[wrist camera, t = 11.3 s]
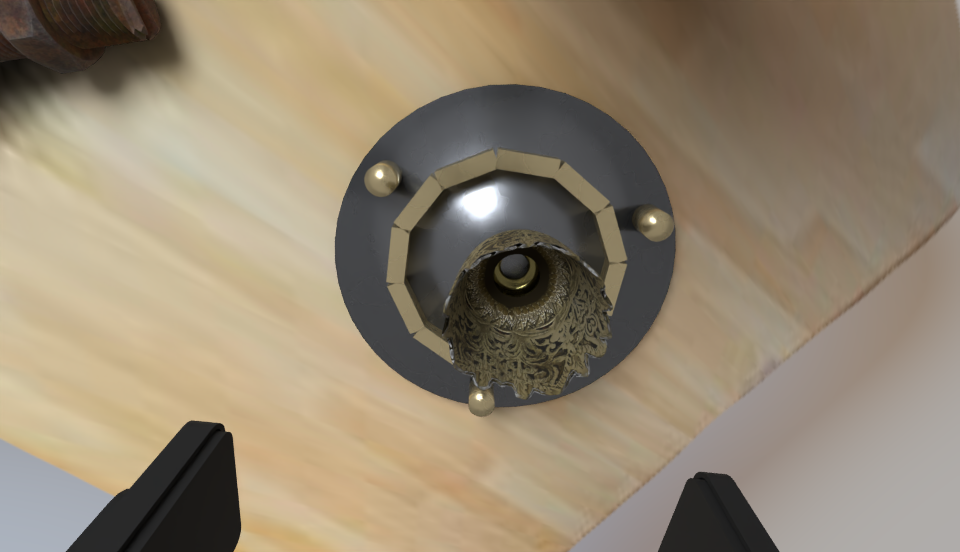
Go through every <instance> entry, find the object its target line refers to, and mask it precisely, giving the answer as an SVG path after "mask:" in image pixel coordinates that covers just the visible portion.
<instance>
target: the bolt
mask: <svg viewBox="0 0 960 552" xmlns="http://www.w3.org/2000/svg"><path fill="white" fill-rule="evenodd" d="M160 27H161V22H160V17H159V14H158V10H157V7H156V4H155V1H154V0H0V62H4V61H10V60H18V59H25V58H29V59H31V60H32V61H34V62H36V63H38V64H40V65H42V66H44V67H47V68H49V69H52V70H54V71H57V72H59V73H69V72H75V71H82V70H85V69H86V68H88V67H89V66H91V65H92V64H94V63H95V62H96V61H97V60H98V59H100V58H101V56H102V55H103V53H104V51H105V46H111V45H117V44H124V43H130V42H138V41H145V40H146V39H148V40H152V39H153V38H154V37H155V36H156V35H157V34H158V32H159V31H160Z"/></svg>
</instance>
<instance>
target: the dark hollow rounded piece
mask: <svg viewBox="0 0 960 552" xmlns="http://www.w3.org/2000/svg"><path fill="white" fill-rule="evenodd" d="M514 254H521V255H523V256H524V257H525V258H526V259H527V261H528V270H527V272H526V274H525V275H524V276H522V277H520V278H518V279H511V278H508V277H506V276H505V275H504V274H503V273H502V271H501V262H502V260H503V258H505V257H507V256H509V255H514ZM605 288H606V287H605V284H604V282H603V280H602V278H601V277H600V276H599V274H598V273H597V272H596V271H595V270H594V269H593V268H592V267H591V266H590V265H589V264H587V263H586V262H585V261H584V260H582V259H581V258H580V257H579V256H578V255H576V254H575V253H574V252H573V251H572V250H571V249H569V248H568V247H567V246H566V245H564V244H563V243H561V242H560V241H558V240H557V239H555V238H553V237H551V236H549V235H547V234H544V233H541V232H538V231H534V230H524V229H517V230H509V231H504V232H501V233H498V234H496V235H494V236H492V237H490V238H488V239H486V240H485V241H483V242H482V243H481V244H479V245H478V246H477V247H476V248H475V249H474V250H473V251H472V252H471V253H470V255H469V256H468V257H467V259H466V260H465V262H464V263H463V265H462V267H461V269H460V271H459V273H458V275H457V277H456V279H455V281H454V284H453V286H452V288H451V290H450V292H449V294H448V297H447V299H446V301H445V304H444V308H443V316H444V317H445V323H444V327H443V330H442V338H443V340H447V341H448V342H449V350H450V357H451V360H452V363H453V366H454V368H455V369H456V370H457V371H458V372H460V373H462V374H465V375H470V376H472V380H473V383H474V384H475V385H476V387H477V388H478V389H479V390H482V391H483V390H487V389H488V388H490V387H491V384H493V383H494V382H495V383H497V384H498V385H499V386H500V387H505V386H510V387H512V388H513V389H514V391H515V395H516V397H517V398H521V399H524V400H527V399H529V398H530V397H531V396H532V394H533V393H534V392H537V393H539V394H541V395H559V394H561V393H562V392H563V391H564V390H565V389H566V387H567V386H568V384H569V383H570V380H571V379H572V377H573V376H574V375H576V374H575V373H577V374H578V375H579V376H576V377H588V376H589V374H590V367H589V359H588V357H593V358H598V359H600V358H601V357H603V356H604V355H605V353H606V349H607V343H606V340H608V339H611V338H612V333H611V327H610V317H609V315H608V314H607V311H611V310H613V305H612V303H611V301H610V299H609V298H608V296H607V295H606V292H605ZM589 355H590V356H589ZM490 382H491V383H490ZM489 383H490V384H489ZM488 386H489V387H488Z"/></svg>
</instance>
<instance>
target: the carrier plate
mask: <svg viewBox="0 0 960 552" xmlns="http://www.w3.org/2000/svg"><path fill="white" fill-rule="evenodd" d="M517 229H524V230H534V231H538V232H541V233H544V234H547V235H549V236H551V237H553V238H555V239H557V240H558V241H560V242H561V243H563V244H564V245H566V246H567V247H568V248H569V249H571V250H572V251H573V252H574V253H575V254H576V255H578V256H579V257H580V258H581V259H582V260H584V261H585V262H586V263H587V264H589V265H590V266H591V267H592V268H593V269H594V270H595V271H596V272H597V273H598V274H599V276H600V277H601V278H602V280H603V282H604V284H605V287H606V288H605V292H606V295H607V296H608V298H609V299H610V301H611V303H612V305H613V310H611V311H607V314H608V315H609V317H610V327H611V333H612V338H611V339H608V340H606V343H607V349H606V353H605V355H604V356H603V357H601V358H600V359H598V358H593V357H588V359H589V367H590V374H589V376H588V377H576V376H579V375H578V374H577V373H575V374H576V375H574V376H573V377H572V379H571V380H570V383H569V384H568V386H567V387H566V389H565V390H564V391H563V392H562V393H561V394H559V395H541V394H539V393H537V392H534V393H533V394H532V396H531V397H530V398H529V399H527V400H524V399H521V398H517V397H516V395H515V391H514V389H513V388H512V387H510V386H505V387H500V386H499V385H498V384H497V383H495V382H494V383H493V384H491V387H490V388H488V389H487V390H483V391H482V390H479V389H478V388H477V387H476V385H475V384H474V383H473V380H472V376H470V375H465V374H462V373H460V372H458V371H457V370H456V369H455V368H454V366H453V363H452V360H451V357H450V350H449V342H448V341H447V340H443V338H442V330H443V327H444V323H445V317H444V316H443V308H444V304H445V301H446V299H447V297H448V294H449V292H450V290H451V288H452V286H453V284H454V281H455V279H456V277H457V275H458V273H459V271H460V269H461V267H462V265H463V263H464V262H465V260H466V259H467V257H468V256H469V255H470V253H471V252H472V251H473V250H474V249H475V248H476V247H477V246H478V245H479V244H481V243H482V242H483V241H485V240H486V239H488V238H490V237H492V236H494V235H496V234H498V233H501V232H504V231H509V230H517ZM674 258H675V225H674V219H673V212H672V207H671V204H670V201H669V197H668V194H667V191H666V187H665V185H664V183H663V181H662V179H661V177H660V175H659V173H658V170H657V168H656V167H655V165H654V164H653V162H652V161H651V159H650V158H649V156H648V155H647V153H646V152H645V150H644V149H643V147H642V146H641V145H640V144H639V143H638V142H637V141H636V140H635V138H634V137H633V136H632V135H631V134H630V133H629V132H628V131H627V130H626V129H625V128H624V127H622V126H621V125H620V124H619V123H618V122H616V121H615V120H614V119H613V118H611V117H610V116H609V115H607V114H606V113H604V112H602V111H601V110H599V109H597V108H596V107H594V106H592V105H591V104H589V103H587V102H585V101H582V100H580V99H578V98H575V97H573V96H570V95H568V94H566V93H562V92H558V91H554V90H550V89H546V88H542V87H535V86H526V85H517V84H511V85H488V86H483V87H477V88H472V89H466V90H462V91H459V92H456V93H453V94H450V95H447V96H444V97H441V98H439V99H437V100H435V101H433V102H431V103H429V104H427V105H425V106H423V107H421V108H419V109H417V110H416V111H414V112H413V113H411V114H410V115H408V116H407V117H405V118H404V119H402V120H401V121H399V122H398V123H397V124H396V125H395V126H393V127H392V128H391V129H390V130H389V131H388V132H387V133H386V134H385V135H384V136H382V137H381V138H380V139H379V140H378V142H377V143H376V144H375V145H374V147H373V148H372V149H371V150H370V151H369V153H368V154H367V155H366V156H365V157H364V159H363V161H362V162H361V164H360V166H359V167H358V169H357V171H356V172H355V174H354V175H353V177H352V179H351V182H350V184H349V186H348V189H347V191H346V193H345V196H344V198H343V202H342V205H341V209H340V213H339V216H338V220H337V228H336V236H335V264H336V270H337V277H338V283H339V286H340V290H341V293H342V296H343V300H344V303H345V305H346V307H347V309H348V312H349V314H350V316H351V318H352V321H353V322H354V324H355V325H356V327H357V329H358V330H359V332H360V334H361V335H362V337H363V338H364V340H365V341H366V342H367V343H368V344H369V346H370V347H371V348H372V349H373V351H374V352H375V353H376V354H377V355H378V356H379V357H380V358H381V359H382V360H383V361H384V362H385V363H386V364H387V365H388V366H389V367H391V368H392V369H393V370H395V371H396V372H397V373H399V374H400V375H401V376H403V377H404V378H405V379H407V380H409V381H410V382H412V383H414V384H416V385H417V386H419V387H421V388H423V389H425V390H427V391H429V392H432V393H434V394H436V395H439V396H441V397H444V398H448V399H451V400H454V401H457V402H462V403H467V404H469V410H470V411H471V413H473V414H474V415H476V416H481V417H482V416H487V415H489V414H491V413H492V412H493V410H494V407H516V406H524V405H531V404H537V403H541V402H545V401H549V400H553V399H556V398H559V397H562V396H564V395H567V394H570V393H573V392H575V391H577V390H579V389H581V388H583V387H585V386H587V385H589V384H591V383H592V382H594V381H595V380H597V379H598V378H600V377H602V376H603V375H605V374H606V373H608V372H609V371H610V370H611V369H613V368H614V367H615V366H616V365H617V364H619V363H620V362H621V361H622V360H623V359H624V358H625V357H626V356H627V355H628V354H629V353H630V352H631V351H632V350H633V349H634V348H635V347H636V346H637V345H638V343H639V342H640V341H641V339H642V338H643V337H644V335H645V334H646V333H647V331H648V330H649V329H650V327H651V325H652V323H653V322H654V320H655V318H656V316H657V315H658V313H659V311H660V309H661V306H662V304H663V301H664V299H665V297H666V294H667V292H668V288H669V284H670V280H671V277H672V273H673V266H674ZM527 270H528V261H527V259H526V258H525V257H524V256H523V255H521V254H514V255H509V256H507V257H505V258H503V260H502V262H501V271H502V273H503V274H504V275H505V276H506V277H508V278H511V279H518V278H520V277H522V276H524V275H525V274H526V272H527ZM589 356H590V355H589ZM490 383H491V382H490ZM490 383H489V384H490ZM488 387H489V386H488Z"/></svg>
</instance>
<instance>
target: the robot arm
mask: <svg viewBox="0 0 960 552" xmlns="http://www.w3.org/2000/svg"><path fill="white" fill-rule="evenodd" d="M240 533H241V519H240V508H239V498H238V488H237V477H236V467H235V457H234V446H233V437H232V434H231V432H225V428H224V426H223V424H220V423H211V422H201V421H189V422H187V423H186V424H185V425H184V426H183V427H182V428H181V430H180V431H179V432H178V433H177V434H176V435H175V437H174V438H173V439H172V440H171V441H170V442H169V444H168V445H167V446H166V447H165V448H164V449H163V451H162V452H161V453H160V454H159V455H158V456H157V458H156V459H155V460H154V461H153V462H152V463H151V464H150V466H149V467H148V468H147V469H146V470H145V471H144V473H143V474H142V475H141V476H140V477H139V478H138V480H137V481H136V482H135V483H134V484H133V485H132V487H131V488H130V489H126V490H124V491H122V492H120V493H118V494H117V495H116V496H115V497H114V498H113V499H112V500H111V501H110V502H109V503H108V504H107V506H106V507H105V508H104V509H103V510H102V511H101V512H100V513H99V515H98V516H97V517H96V518H95V519H94V520H93V521H92V523H91V524H90V525H89V526H88V527H87V528H86V529H85V530H84V532H83V533H82V534H81V535H80V536H79V537H78V538H77V540H76V541H75V542H74V543H73V544H72V545H71V546H70V547H69V549H68V550H67V551H66V552H233V551H234V549H235V547H236V545H237V543H238V540H239V537H240ZM658 552H779V550H778V549H777V547H776V546H775V544H774V543H773V541H772V539H771V538H770V536H769V535H768V533H767V532H766V530H765V528H764V527H763V525H762V524H761V522H760V521H759V519H758V517H757V516H756V515H755V513H754V511H753V510H752V508H751V507H750V505H749V504H748V502H747V500H746V499H745V497H744V496H743V494H742V493H741V491H740V489H739V488H738V487H737V485H736V483H735V482H734V480H733V479H732V478H731V477H730V476H728V475H727V474H717V473H707V472H698V473H696V474H695V476H694V478H690V479H688V480H687V482H686V484H685V487H684V489H683V492H682V494H681V497H680V499H679V501H678V504H677V506H676V509H675V511H674V514H673V516H672V519H671V521H670V523H669V526H668V528H667V531H666V533H665V536H664V538H663V540H662V543H661V545H660V548H659V550H658Z"/></svg>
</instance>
